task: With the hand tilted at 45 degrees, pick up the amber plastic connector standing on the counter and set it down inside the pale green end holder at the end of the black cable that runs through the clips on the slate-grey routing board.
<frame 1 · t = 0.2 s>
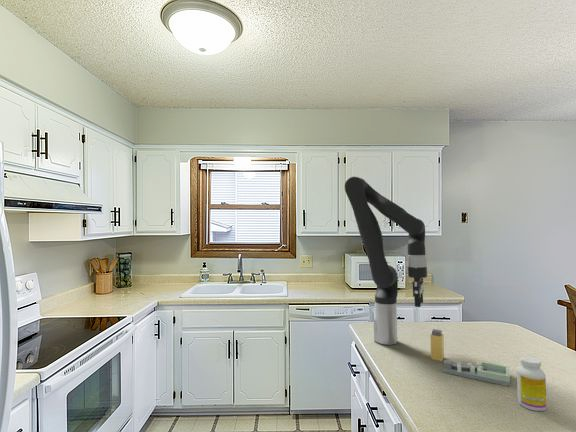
hand: (419, 304, 139), 18 cm above the counter, tool pointing down, fingers open, 8 cm apart
route board: (476, 373, 114), on the counter
connector: (437, 358, 128), on the counter
supplement bottle: (531, 406, 94), on the counter
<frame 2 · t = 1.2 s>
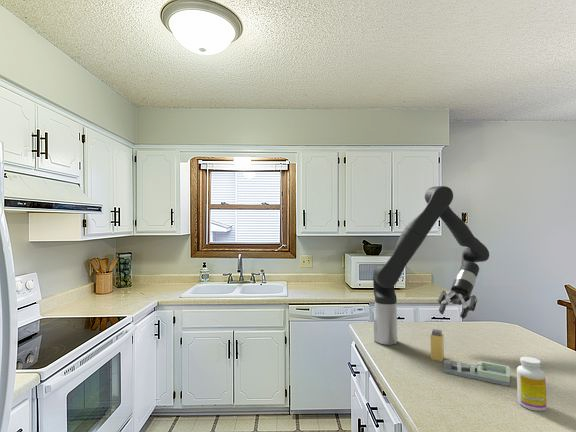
hand: (451, 315, 135), 14 cm above the counter, tool tilted 45°, fingers open, 8 cm apart
nothing on the counter moved.
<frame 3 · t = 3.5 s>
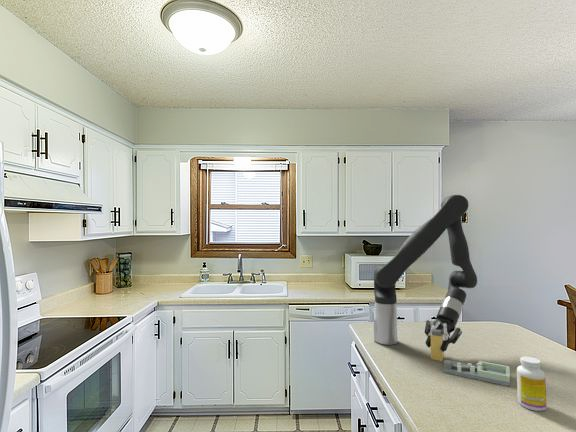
hand: (434, 348, 127), 4 cm above the counter, tool tilted 45°, fingers closed on connector, 5 cm apart
connector: (437, 358, 128), on the counter, touching gripper
everything else where it was.
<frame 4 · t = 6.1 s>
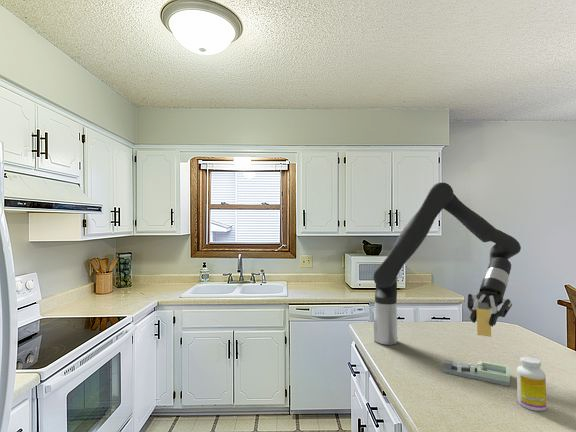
hand: (481, 323, 114), 18 cm above the counter, tool tilted 45°, fingers closed on connector, 5 cm apart
connector: (484, 334, 115), point 13 cm above the counter, touching gripper
everything else where it was.
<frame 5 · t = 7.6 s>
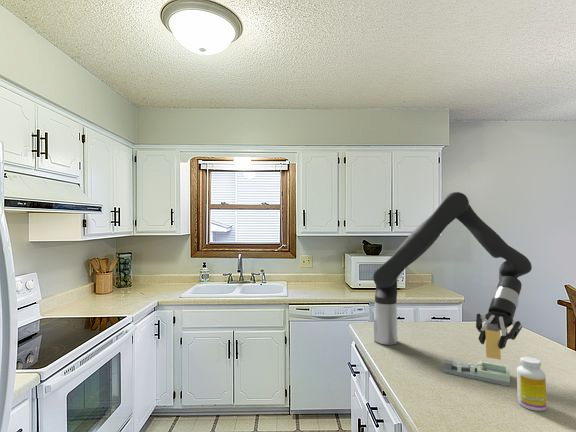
hand: (490, 345, 111), 11 cm above the counter, tool tilted 45°, fingers closed on connector, 5 cm apart
connector: (493, 356, 112), point 7 cm above the counter, touching gripper
everything else where it was.
when the fingers open (7 cm above the counter, at t = 8.8 s): connector drops 1 cm, resting on route board.
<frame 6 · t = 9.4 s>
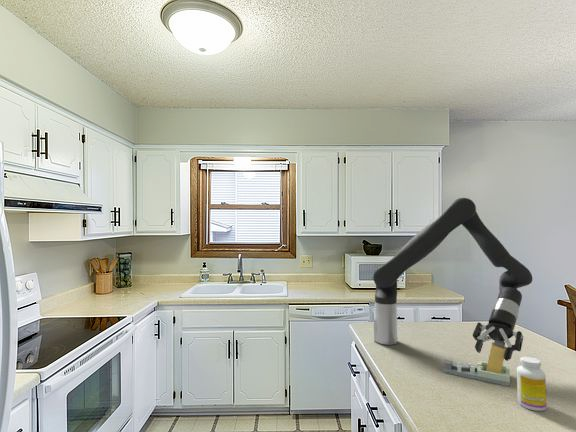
hand: (491, 355, 111), 8 cm above the counter, tool tilted 45°, fingers open, 8 cm apart
connector: (493, 371, 112), point 2 cm above the counter, tilted 12°, touching gripper, route board
everything else where it was.
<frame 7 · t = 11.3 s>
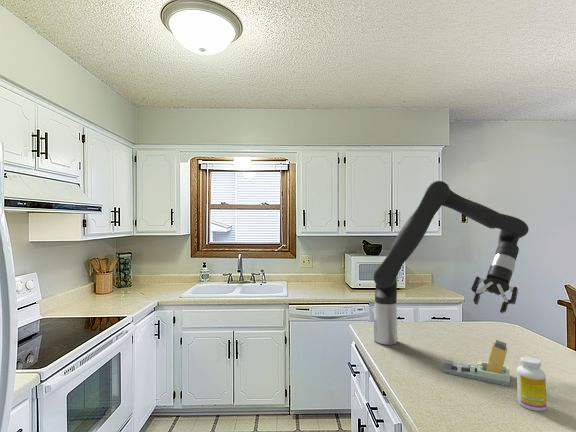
hand: (488, 308, 123), 20 cm above the counter, tool tilted 30°, fingers open, 8 cm apart
connector: (493, 372, 112), point 2 cm above the counter, tilted 13°, touching route board
everything else where it was.
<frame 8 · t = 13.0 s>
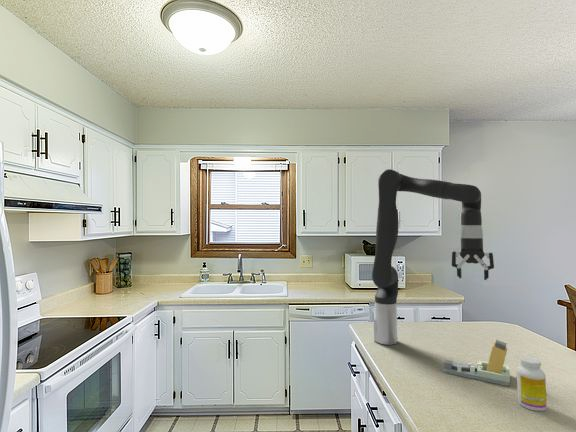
hand: (472, 278, 129), 30 cm above the counter, tool pointing down, fingers open, 8 cm apart
nothing on the counter moved.
at the end: connector 0.1 cm from the target spot on the route board, point 1.7 cm above the route board's base; connector tilted 13°; the gripper is holding nothing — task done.
